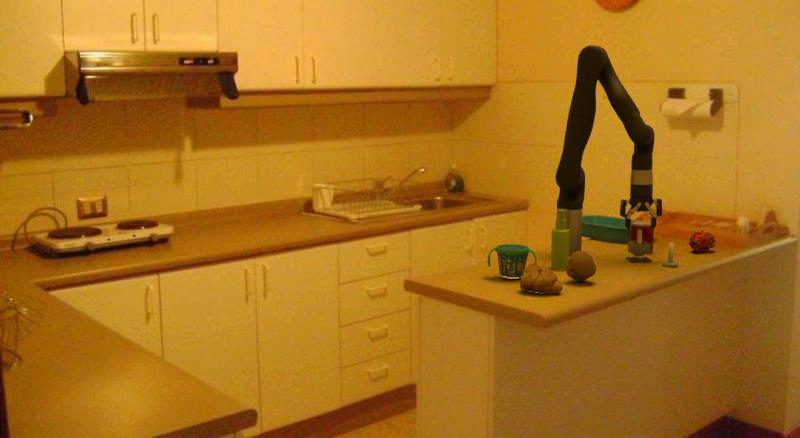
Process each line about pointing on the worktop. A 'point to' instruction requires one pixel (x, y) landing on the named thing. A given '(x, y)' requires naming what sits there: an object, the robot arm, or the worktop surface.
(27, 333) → the worktop surface
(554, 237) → the soap dispenser
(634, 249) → the gray block
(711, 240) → the dragon fruit
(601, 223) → the casserole dish
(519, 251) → the snack cup
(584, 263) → the natural sponge
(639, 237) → the stand
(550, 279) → the bread roll
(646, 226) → the canned food
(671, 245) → the hub
